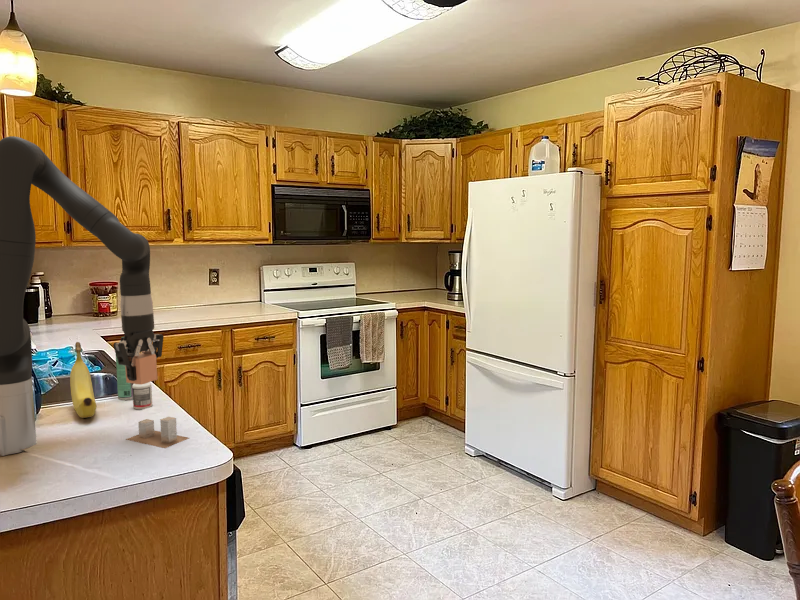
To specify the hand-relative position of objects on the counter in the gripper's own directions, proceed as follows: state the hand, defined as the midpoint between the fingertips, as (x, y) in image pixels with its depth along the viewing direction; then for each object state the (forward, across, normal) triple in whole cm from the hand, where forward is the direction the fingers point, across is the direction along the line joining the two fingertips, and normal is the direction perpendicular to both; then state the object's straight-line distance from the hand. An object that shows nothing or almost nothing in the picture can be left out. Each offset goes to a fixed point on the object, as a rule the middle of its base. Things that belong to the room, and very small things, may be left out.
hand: (142, 377), depth 150 cm
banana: (+16, +7, +33) cm, 37 cm away
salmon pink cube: (+1, 0, 0) cm, 1 cm away
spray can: (+16, +24, +35) cm, 45 cm away
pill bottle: (+16, +18, +22) cm, 33 cm away
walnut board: (+16, -1, -5) cm, 17 cm away
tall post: (+15, -1, -9) cm, 18 cm away
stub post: (+15, -1, -1) cm, 15 cm away
